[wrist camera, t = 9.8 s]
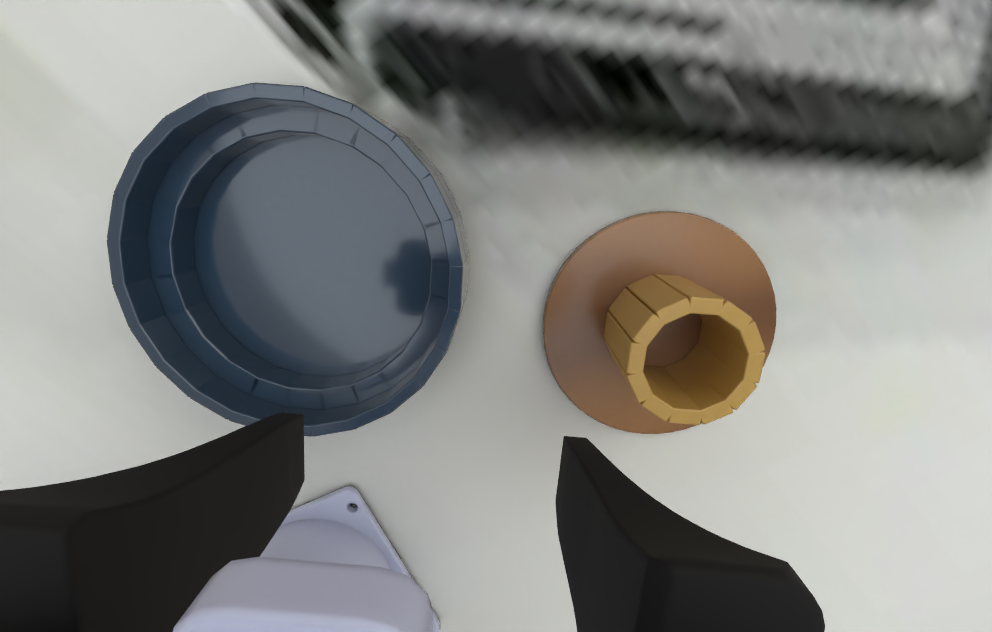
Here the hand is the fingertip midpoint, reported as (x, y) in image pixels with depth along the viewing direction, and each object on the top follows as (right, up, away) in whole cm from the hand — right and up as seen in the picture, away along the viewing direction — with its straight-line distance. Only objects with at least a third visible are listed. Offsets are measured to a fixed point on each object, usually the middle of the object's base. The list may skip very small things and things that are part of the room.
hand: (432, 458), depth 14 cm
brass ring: (+9, +3, +8) cm, 12 cm away
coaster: (+9, +3, +9) cm, 13 cm away
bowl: (-6, +6, +8) cm, 12 cm away
